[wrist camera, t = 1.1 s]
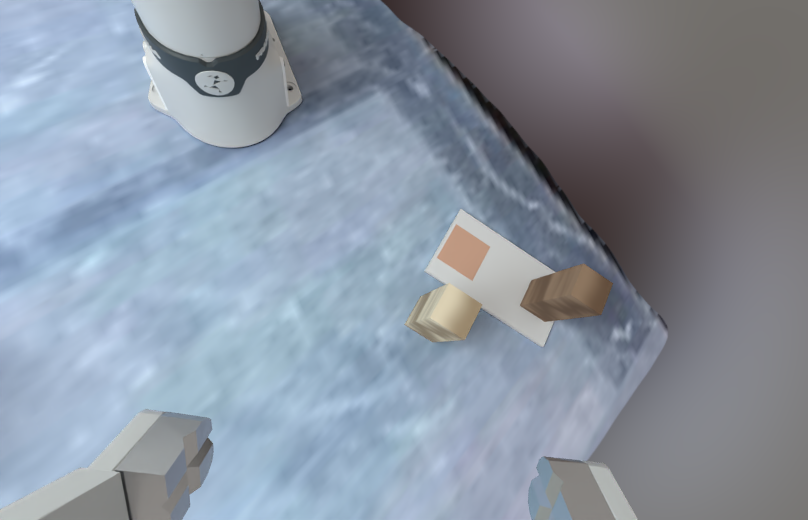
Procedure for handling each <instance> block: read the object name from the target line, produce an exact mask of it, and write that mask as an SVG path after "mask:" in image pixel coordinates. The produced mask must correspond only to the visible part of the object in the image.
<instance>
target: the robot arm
mask: <svg viewBox="0 0 808 520" xmlns="http://www.w3.org/2000/svg"><path fill="white" fill-rule="evenodd" d="M131 1H132V3H133V5H134V7H135V9H134V10H135V16H136V19H137V22H138V24H139V28H140V31H141V34H142V36H143V38H144V41H143V49H144V52H145V56H144V57H143V63H144V65H145V67H146V70H147V72H148V74H149V76H150V78H151V83H150V89H149V95H148V99H149V101H150V103H151V105H152V107H153V108H155V109H156V110H158V111H160V112H162V113H164V114H166V115H168V116H170V117H172V118H173V119H175V120H176V121H177V122H178V123H179V124H180V125H181V126H182V127H183V128H184V129H185V130H186V131H187V132H188V133H189V134H191V135H192V136H194V137H195V138H197V139H199V140H201V141H203V142H205V143H208V144H211V145H215V146H219V147H228V148H236V147H244V146H249V145H253V144H255V143H258V142H260V141H262V140H264V139H265V138H267V137H268V136H270V135H271V134H272V133H273V132H274V131H275V130H276V129H277V128H278V127H279V125H280V124H281V122H282V120H283V119H284V117H285V116H286V114H287V113H289V112H290V111H292V110H293V109H295V108H296V107H298V106H299V105H300V104H301V102H302V96H301V92H300V89H299V87H298V84H297V82H296V79H295V77H294V74H293V72H292V70H291V67H290V65H289V62H288V60H287V57H286V55H285V52H284V50H283V47H282V45H281V42H280V40H279V37H278V35H277V32H276V30H275V27H274V25H273V22H272V20H271V17H270V15H269V14H268V13H267V12H266V11H264V10H263V7H262V5H261V3H260V0H131ZM288 89H292V90H291V91H289V90H288ZM211 431H212V424H211V419H209V418H207V417H200V416H193V415H186V414H179V413H172V412H163V411H156V410H148V409H145V410H143V411H141V412H139V413H138V414H137V415H136V416H135V417H134V418H133V419H132V420H131V421H130V422H129V424H128V425H127V426H126V427H125V428H124V429H123V430H122V431H121V432H120V433H119V434H118V435H117V436H116V438H115V439H114V440H113V441H112V442H111V443H110V444H109V445H108V446H107V447H106V448H105V449H104V451H103V452H102V453H101V454H100V455H99V456H98V457H97V458H96V459H95V460H94V461H93V462H92V463H91V465H90V466H89V467H88V468H78V469H76V470H74V471H73V472H71V473H69V474H67V475H65V476H63V477H61V478H59V479H57V480H55V481H53V482H52V483H50V484H48V485H46V486H44V487H42V488H40V489H38V490H36V491H34V492H32V493H30V494H29V495H27V496H25V497H23V498H21V499H19V500H17V501H15V502H13V503H11V504H9V505H8V506H6V507H4V508H2V509H0V520H182V519H183V517H184V515H185V514H186V512H187V510H188V508H189V507H190V497H189V495H190V494H191V493H193V492H194V491H195V490H197V489H198V488H200V487H201V486H202V484H203V482H204V480H205V478H206V476H207V474H208V472H209V469H210V466H211V463H212V459H213V452H214V451H213V443H212V442H211V441H210V439H209V438H208V436H209V434H210V432H211ZM536 468H537V470H538V473H539V476H537V477H536V478H534V479H533V480H532V481H531V484H530V487H529V494H528V504H529V511H530V515H531V519H532V520H638V519H637V517H636V516H635V514H634V512H633V510H632V509H631V507H630V505H629V503H628V501H627V500H626V498H625V496H624V494H623V493H622V491H621V489H620V487H619V486H618V484H617V482H616V480H615V479H614V477H613V475H612V473H611V471H610V470H609V468H608V467H607V466H606V465H605V464H604V463H598V462H589V461H580V460H572V459H562V458H553V457H542V458H541V459H540V460H539V462H538V464H537V467H536Z"/></svg>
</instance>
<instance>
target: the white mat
mask: <svg viewBox="0 0 808 520" xmlns="http://www.w3.org/2000/svg"><path fill="white" fill-rule="evenodd" d="M424 272H426V273H427V274H429V275H430V276H432V277H433V278H435V279H436V280H438V281H439V282H441V283H443V284H444V285H446V284H448V283H450V284H452V285H453V286H455V287H456V288H458V289H459V290H461V291H463V292H464V293H466V294H467V295H469V296H470V297H472V298H473V299H475V300H476V301H478V302H479V303H481V304H482V306H481V309H483V310H484V311H486V312H487V313H489V314H491V315H492V316H494V317H495V318H497V319H498V320H500V321H501V322H503V323H504V324H506V325H508V326H509V327H511V328H512V329H514V330H515V331H517V332H518V333H520V334H521V335H523V336H525V337H526V338H528V339H529V340H531V341H532V342H534V343H535V344H537V345H538V346H540V347H544V344H545V342H546V339H547V337H548V335H549V332H550V330H551V328H552V325H553V323H554V321H548V322H544V321H542V320H541V319H539V318H538V317H536V316H535V315H533V314H532V313H530V312H529V311H527V310H526V309H524V308H523V307H521V306H520V304H521V302H522V300H523V297H524V295H525V293H526V291H527V289H528V287H529V284H530V282H531V280H533V279H537V278H540V277H543V276H546V275H549V274H552V273H556V272H554V271H553V270H551V269H550V268H548V267H547V266H545V265H544V264H542V263H541V262H539V261H538V260H536V259H535V258H533V257H532V256H530V255H529V254H527V253H526V252H524V251H523V250H521V249H520V248H518V247H517V246H515V245H514V244H512V243H511V242H509V241H508V240H506V239H505V238H503V237H502V236H500V235H499V234H497V233H496V232H494V231H493V230H491V229H490V228H488V227H487V226H486V225H484V224H483V223H481V222H480V221H478V220H477V219H475V218H474V217H472V216H471V215H469V214H468V213H466V212H465V211H463V210H462V209H460V210H459V212H458V214H457V215H456V217H455V219H454V221H453V222H452V224H451V226H450V227H449V229H448V231H447V233H446V234H445V236H444V238H443V240H442V241H441V243H440V245H439V246H438V248H437V250H436V252H435V253H434V255H433V257H432V259H431V260H430V262H429V264H428V265H427V267H426V269H425V271H424Z"/></svg>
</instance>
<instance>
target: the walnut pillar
mask: <svg viewBox="0 0 808 520" xmlns="http://www.w3.org/2000/svg"><path fill="white" fill-rule="evenodd" d="M612 285H613V283H612V282H610V281H609V280H607V279H606V278H604V277H603V276H601V275H600V274H598V273H597V272H595V271H594V270H592V269H591V268H589V267H588V266H586V265H585V264H581V265H578V266H574V267H571V268H568V269H565V270H562V271H559V272H556V273H552V274H549V275H546V276H543V277H540V278H537V279H533V280H531V282H530V284H529V287H528V289H527V291H526V293H525V295H524V297H523V300H522V302H521V304H520V306H521V307H523V308H524V309H526V310H527V311H529V312H530V313H532V314H533V315H535V316H536V317H538V318H539V319H541V320H542V321H544V322H548V321H556V320H564V319H572V318H581V317H589V316H597V315H601V314H602V311H603V309H604V306H605V303H606V301H607V298H608V295H609V293H610V290H611V287H612Z"/></svg>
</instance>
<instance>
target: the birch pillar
mask: <svg viewBox="0 0 808 520" xmlns="http://www.w3.org/2000/svg"><path fill="white" fill-rule="evenodd" d="M481 306H482V304H481V303H479V302H478V301H476V300H475V299H473V298H472V297H470V296H469V295H467V294H466V293H464V292H463V291H461V290H459V289H458V288H456V287H455V286H453V285H452V284H450V283H448V284H446V285H443V286H441V287H439V288H437V289H435V290H433V291H431V292H429V293H427V294H425V295H423V296H421V297H420V298H419V300H418V302H417V304H416V305H415V307H414V309H413V311H412V312H411V314H410V316H409V318H408V319H407V321H406V323H405V325H406V326H407V327H409V328H410V329H412V330H414V331H415V332H417V333H418V334H420V335H422V336H423V337H425V338H426V339H428V340H430V341H431V342H442V341H457V340H465V338H466V336H467V334H468V332H469V330H470V328H471V326H472V324H473V322H474V320H475V318H476V316H477V314H478V312H479V310H480V308H481Z"/></svg>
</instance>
